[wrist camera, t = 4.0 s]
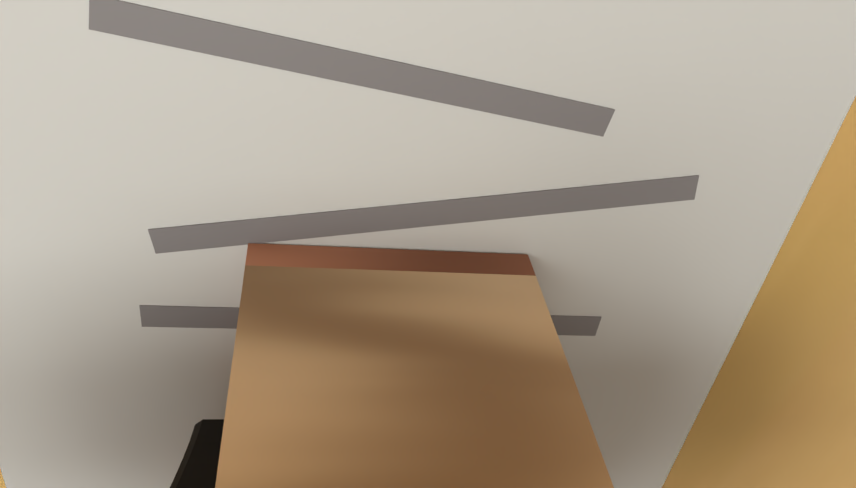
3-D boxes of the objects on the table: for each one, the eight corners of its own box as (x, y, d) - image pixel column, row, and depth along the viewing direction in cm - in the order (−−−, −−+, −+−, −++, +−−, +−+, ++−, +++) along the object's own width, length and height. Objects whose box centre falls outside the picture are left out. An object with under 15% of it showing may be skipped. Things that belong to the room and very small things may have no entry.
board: (76, 649, 17) (66, 686, 17) (-186, -308, 7) (-239, -307, 6) (569, 624, 19) (577, 657, 19) (923, -146, 9) (970, -132, 8)
